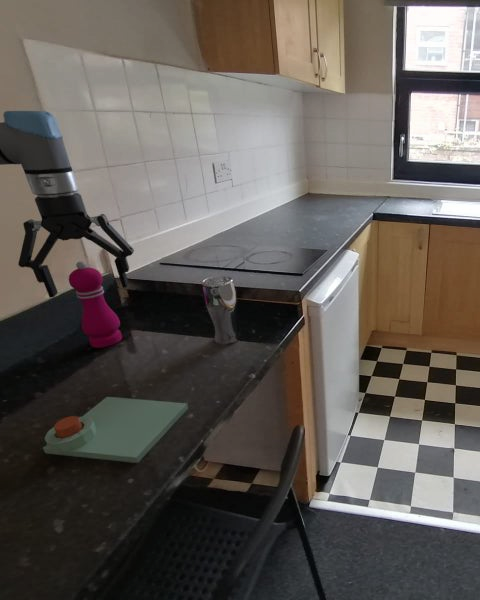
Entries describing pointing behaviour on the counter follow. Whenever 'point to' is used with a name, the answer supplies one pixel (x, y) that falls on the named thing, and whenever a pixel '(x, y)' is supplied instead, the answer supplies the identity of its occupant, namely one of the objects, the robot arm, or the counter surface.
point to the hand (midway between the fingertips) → (90, 290)
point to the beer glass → (222, 308)
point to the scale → (118, 430)
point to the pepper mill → (95, 307)
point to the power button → (68, 426)
